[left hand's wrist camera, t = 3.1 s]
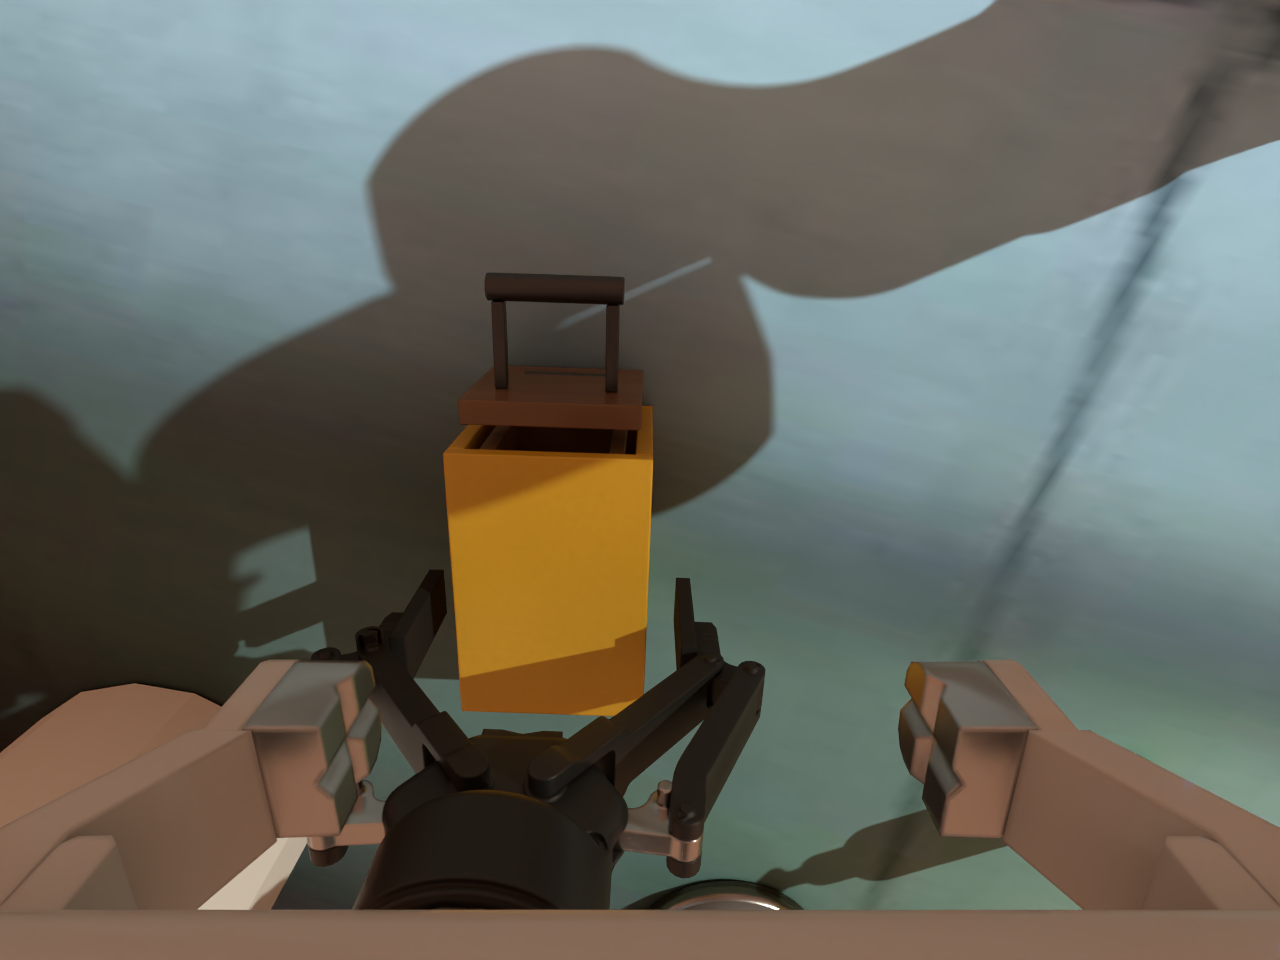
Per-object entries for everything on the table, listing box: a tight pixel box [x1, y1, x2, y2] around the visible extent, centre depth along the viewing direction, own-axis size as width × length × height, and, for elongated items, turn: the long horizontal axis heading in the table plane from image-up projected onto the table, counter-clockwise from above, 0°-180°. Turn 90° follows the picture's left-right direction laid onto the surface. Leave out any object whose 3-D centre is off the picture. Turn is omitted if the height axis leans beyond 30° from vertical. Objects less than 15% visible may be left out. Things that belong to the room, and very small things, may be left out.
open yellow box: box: [443, 406, 653, 716], centre depth 39 cm, size 14×10×10 cm
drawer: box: [458, 273, 643, 454], centre depth 37 cm, size 19×8×8 cm, turn 178°
